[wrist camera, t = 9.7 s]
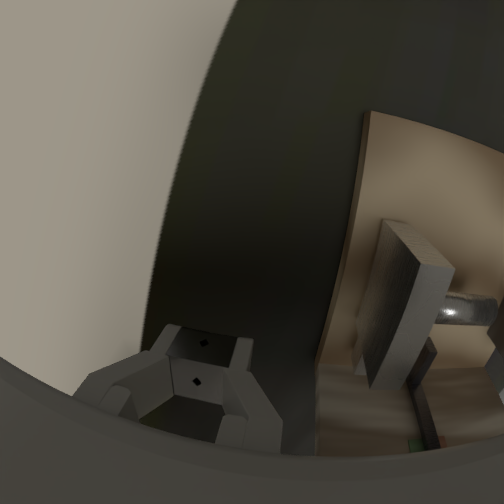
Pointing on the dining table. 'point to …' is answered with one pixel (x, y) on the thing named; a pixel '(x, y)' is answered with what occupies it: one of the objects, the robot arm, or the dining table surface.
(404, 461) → the robot arm
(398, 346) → the slab with metal rod
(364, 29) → the dining table surface
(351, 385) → the gauge frame
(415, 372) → the dark bent bar
